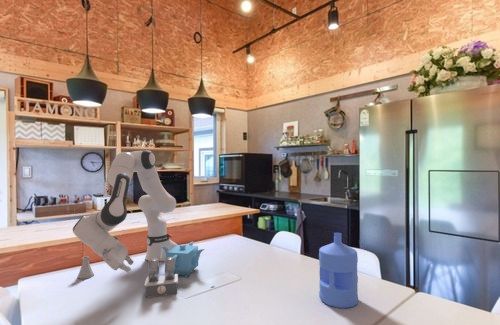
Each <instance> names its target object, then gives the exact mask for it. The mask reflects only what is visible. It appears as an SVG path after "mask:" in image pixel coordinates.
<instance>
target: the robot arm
mask: <svg viewBox="0 0 500 325" xmlns="http://www.w3.org/2000/svg"><path fill="white" fill-rule="evenodd" d="M114 157H115V158H114V159H113V160H112V163H111V165H110V167H109V171H108V175H107V182H108V184H109V185H110V186H112V191H111V193H110V194H111V195H110V197H109V198H110V199H109V201H108V202H106V203H105V204H104V206H103V207H102V209H101V210H100V211H98V212H95V213H93V214H88V215H83V216H81V217H80V218H79V219H78V221H76V223H75V225H73V228H72V233H73V234H74V236H76V237H77V238H78V240H79V241H81V242H82V243H83V244H84V245H86V246H88V247H89V248H91V249H90V250H92V252H94V253H95V254H96V255H98V256H99V257H100V258H102V261H103V262H104V263H106V265H108V267H110V268H111V269H112V270H113V271H117V270H119V269H120V270H122V271H124V272H125V273H130V271H131V270H132V269H131V267H130V266H132V265H133V264H134V260H133V259H132V258H131V256H130V255H129V254H128V253H129V250H128V248H127V247H126V246H125V245H124V243H122V242H121V241H120V240H119V237H117V236H114V235H112V234H111V233H109V232H111V231H112V230H113V229H114V230H115V228H116V227H118V226H119V225H120V224H122V223H123V222H124V221H125V220H126V218H127V215H128V208H127V204H126V201H127V196H128V191H129V188H130V187H129V186H130V183H131V181H132V179H133V177H134V176H133V175H134V173H135V172H136V174H137V178H138V181H139V183H140V186H141V188H142V189H141V190H143V192H144V193H146V194H144V195H141V197H139V198H138V202H137V206H138V208H139V209H140V210H141V211H142V213H143V214H144V217H145V218H146V223H147V236H146V243H147V249H146V255H145V260H146V261H148V262H149V260H150V259H153V258H157V259H159V262H165V258H166V252H165V250H164V249H163V248H161V247H166V248H168V250H171V249H172V248H174V247H176V246H177V245H178V244H177V243H176V242H175V241H173V240H172V239H170V238H172V237H173V234H171V233H168V232H167V228H168V227H167V223H168V222H167V220H166V219H165V218H164V217H163V216H162V215H161V214H166V213H167V214H168V213H172V212H174V210H175V209H176V207H177V200H176V198H175V197H174V196H173V195H171V194H170V193H169V192H167V190H166V189H165V188H164V186H163V184H162V182H161V180H160V176H159V173H158V170H157V168H156V166H155V165H156V160H157V159H156V156H155V154H154V152H152V151H151V150H147V149H145V150H135V151H134V150H133V151H130V152H128V151H127V152H126V151H122V152H119V153H118V154H117V155H116V156H114ZM124 261H126V262H127V264H128V265H126V264H125V262H124ZM129 265H130V266H129Z"/></svg>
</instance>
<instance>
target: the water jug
mask: <svg viewBox="0 0 500 325" xmlns="http://www.w3.org/2000/svg"><path fill="white" fill-rule="evenodd" d="M342 235H343V234H342V233H341V232H333V242H331V243H328V244H326V245H323V246H321V247H319V250H318V251H319V253H318V260H319V261H318V263H319V264H318V265H319V291H318V294H319V298H320V300H321V302H322V303H324V304H326V305H327V306H330V307H333V308H338V309H347V308H353V307H355V306H356V305H358V302H359V295H358V294H359V292H358V291H359V290H358V287H359V286H358V283H359V282H358V281H359V276H358V262H359V261H358V260H359V257H358V252H357V250H356V249H355V248H353V247H351V246H349V245H346V244H344V243H343V242H342V238H343V237H342Z"/></svg>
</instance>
